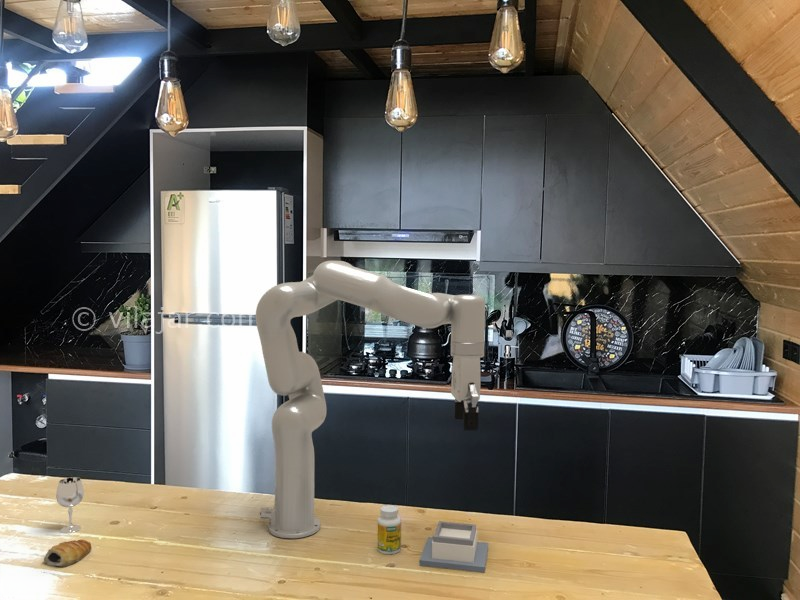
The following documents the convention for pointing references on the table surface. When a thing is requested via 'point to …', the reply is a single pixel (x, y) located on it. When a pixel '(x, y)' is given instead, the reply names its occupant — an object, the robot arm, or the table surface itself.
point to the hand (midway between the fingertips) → (465, 424)
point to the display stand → (455, 548)
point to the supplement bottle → (389, 530)
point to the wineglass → (70, 499)
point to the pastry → (67, 553)
